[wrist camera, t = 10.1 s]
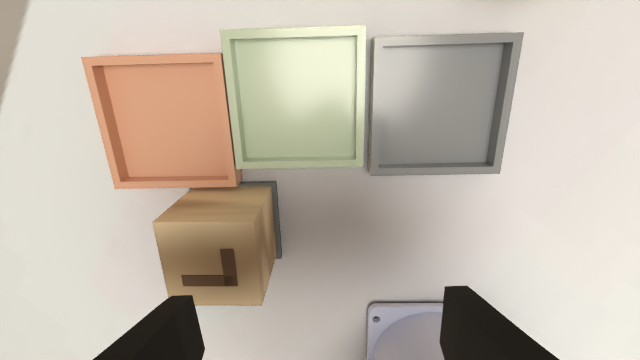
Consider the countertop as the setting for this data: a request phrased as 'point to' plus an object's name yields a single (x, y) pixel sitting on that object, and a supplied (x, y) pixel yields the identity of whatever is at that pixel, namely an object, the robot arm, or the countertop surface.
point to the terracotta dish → (164, 120)
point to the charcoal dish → (441, 103)
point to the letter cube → (218, 245)
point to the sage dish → (296, 96)
